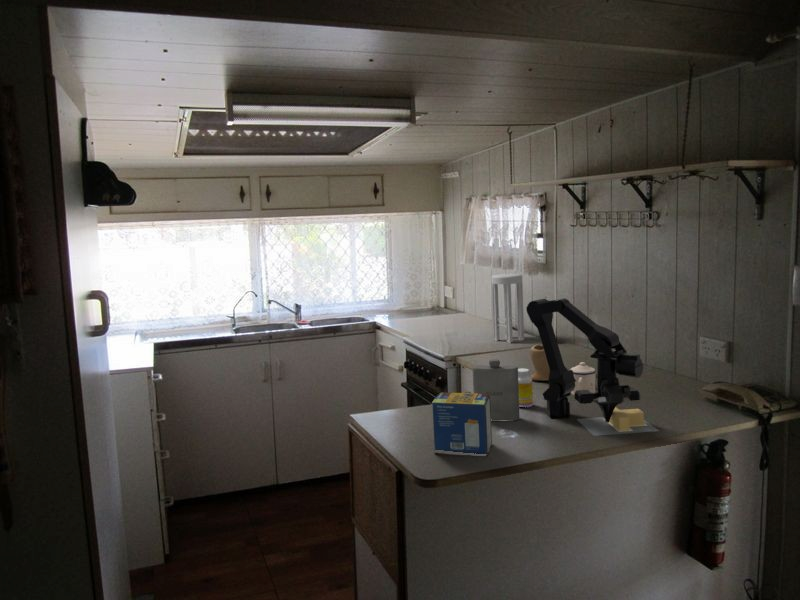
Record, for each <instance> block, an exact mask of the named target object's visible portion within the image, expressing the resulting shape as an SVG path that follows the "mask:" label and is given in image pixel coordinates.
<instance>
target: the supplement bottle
mask: <svg viewBox="0 0 800 600" xmlns="http://www.w3.org/2000/svg"><path fill="white" fill-rule="evenodd" d="M518 386H519V407H525V409H526V407H527V408H531V407H532V406H533V405H534V397H533V396H534V394H533V380H532V378H531V377H530V370H529V369H528V368H522V367H521V368H518Z"/></svg>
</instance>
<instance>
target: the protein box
mask: <svg viewBox="0 0 800 600" xmlns="http://www.w3.org/2000/svg"><path fill="white" fill-rule="evenodd" d="M431 405H432V406H431V408H432V427H433V428H432V429H433V447H434V448H433V449H434V450H444V451H453V452H463V453H474V454H475V453H476V454H487V452H488V450H489V448H490V446H491V447H492V445H493V436H492V435H493V433H492V421H491V408H490V394H478V393H474V392H470V393H467V392H439V394H438V395H437V396H435V398H434V399H433V401H432V402H431ZM491 444H492V445H491ZM490 449H491V448H490ZM489 451H490V450H489ZM488 453H489V452H488Z"/></svg>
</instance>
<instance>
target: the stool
mask: <svg viewBox="0 0 800 600" xmlns="http://www.w3.org/2000/svg"><path fill="white" fill-rule="evenodd" d="M490 278H491V299H492V300H491V302H492V303H491V304H492V305H491V306H492V328H493V329H492V330H493V332H492V333H493V341H494V340H495V341H494V342H499V341H498V340H500V341H501V339H500V338H501V337H500V328H501V327H502V328H504V337H505V338H504V339H506V343H507V342H508V343H507V344H512V343H511V342H513V343H514V339H513V337H514V336H513V325H517V339H518V340H517V341H521V340H522V341H524V340H525V325H524V324H525V323H524V322H525V321H524V319H525V318H524V289H523V287H524V286H523V274H520V273H498V274H493V275H491V277H490ZM512 284H513V285H515V284H516V285H515V287H516V311H517V315H516V316H515V315H513V313H512V311H513V310H512V309H513V307H512ZM498 285H503V309H504V310H503V312H504V318H501V317H500V313H499V311H500V309H499V286H498ZM513 319H515V320H517V321H513ZM500 322H504V324H503V323H500Z"/></svg>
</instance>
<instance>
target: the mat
mask: <svg viewBox="0 0 800 600" xmlns="http://www.w3.org/2000/svg"><path fill="white" fill-rule="evenodd" d="M576 420H577V422H578V423H580V425H582V426H583V427H584V428H585V429H586V431H588V432H589V433H590V434H591V435H592V436H593V437H596V436H597V437H598V436H610V435H611V436H612V435H625V434H637V433H638V434H639V433H653V432H660V430H659V429H658V428H656V427H655V426H653V424H651V423H649V422H647V420H645V419H644V425H636V426H629V430H624V431H619V430H618V429H617V428H616V427H615V426H613V425H612V424H611V423H610V422H606V421H605V418H604V416H598V417H585V418H576Z"/></svg>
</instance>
